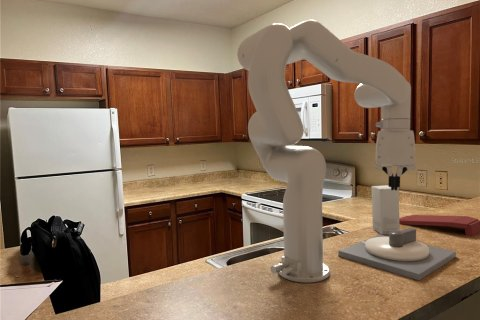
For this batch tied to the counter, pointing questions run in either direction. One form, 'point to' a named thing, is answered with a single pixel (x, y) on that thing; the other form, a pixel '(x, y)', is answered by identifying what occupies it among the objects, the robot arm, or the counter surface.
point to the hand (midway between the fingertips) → (394, 189)
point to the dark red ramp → (445, 222)
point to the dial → (398, 246)
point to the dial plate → (399, 267)
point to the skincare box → (385, 209)
